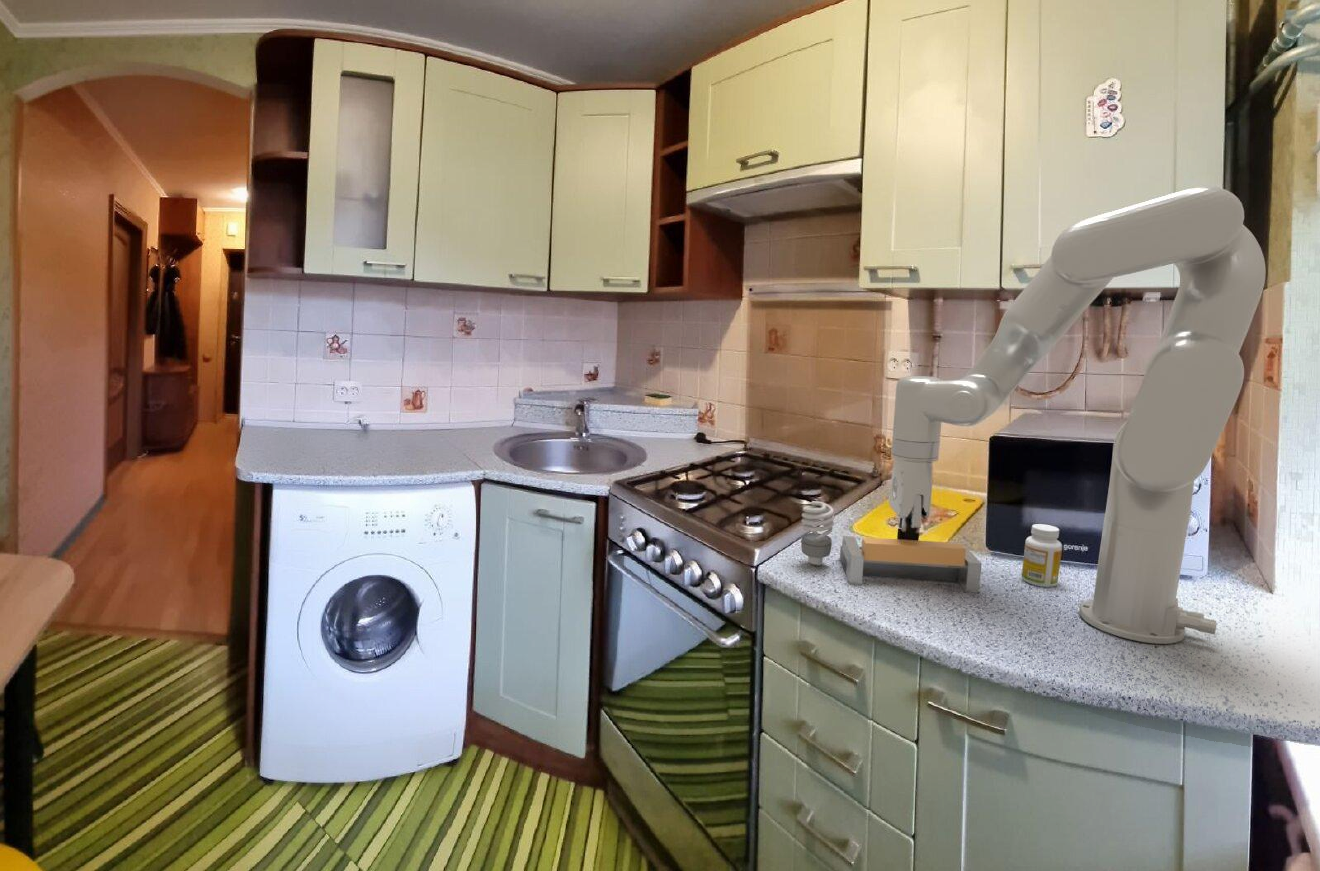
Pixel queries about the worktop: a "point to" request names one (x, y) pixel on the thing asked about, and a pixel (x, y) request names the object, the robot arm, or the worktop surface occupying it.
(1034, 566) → the supplement bottle
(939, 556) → the orange long rectangular bar
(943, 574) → the holder stand
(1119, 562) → the robot arm
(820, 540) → the light bulb
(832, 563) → the worktop surface
